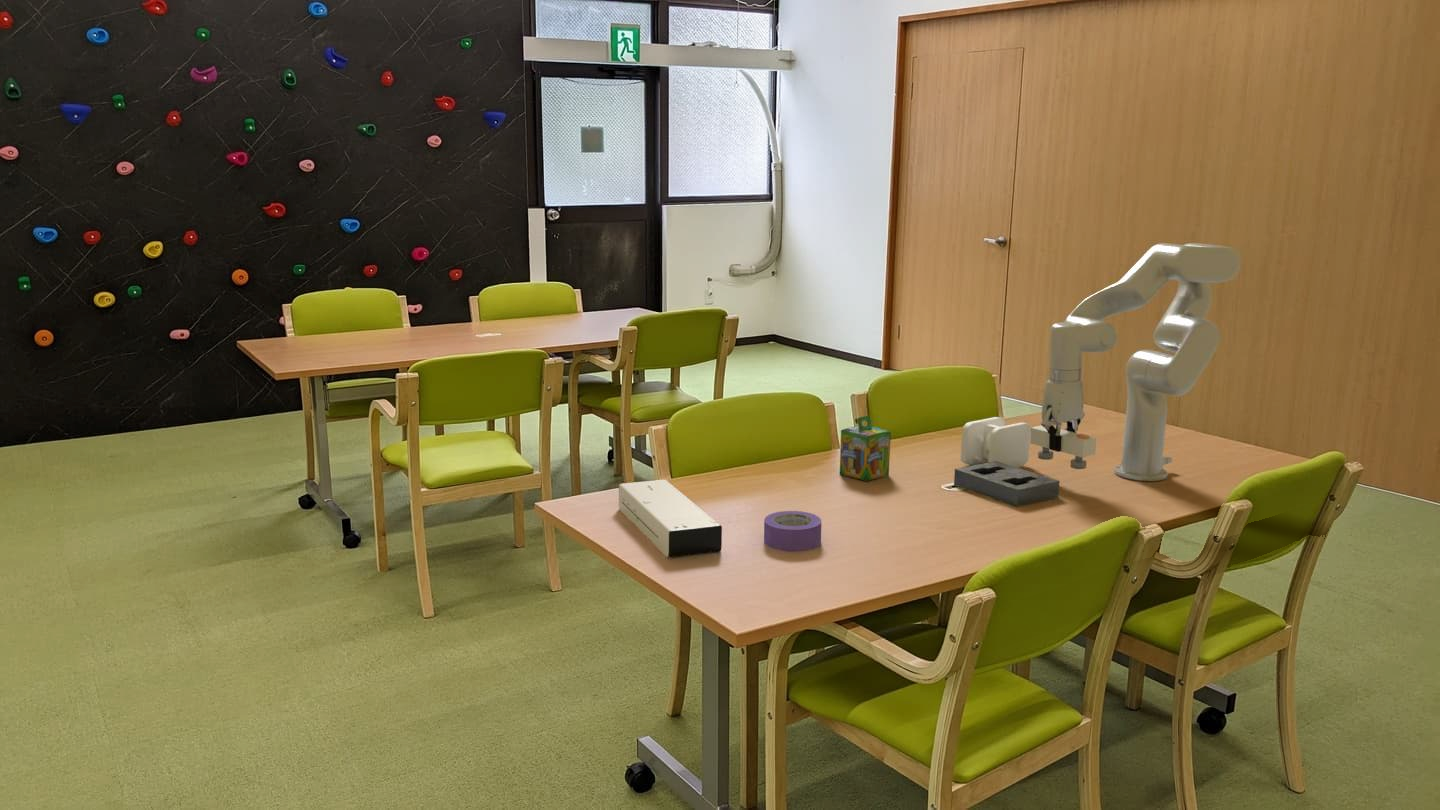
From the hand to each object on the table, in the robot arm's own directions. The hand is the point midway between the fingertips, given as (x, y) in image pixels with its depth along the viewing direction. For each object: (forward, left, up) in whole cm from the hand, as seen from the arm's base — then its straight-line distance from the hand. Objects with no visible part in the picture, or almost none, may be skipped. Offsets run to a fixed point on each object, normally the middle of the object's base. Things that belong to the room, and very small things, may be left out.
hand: (1062, 447), depth 277 cm
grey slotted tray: (+15, -3, -9) cm, 18 cm away
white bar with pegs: (0, 0, -4) cm, 4 cm away
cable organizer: (+1, -20, -10) cm, 22 cm away
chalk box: (+35, -31, -10) cm, 48 cm away
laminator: (+98, -21, -10) cm, 100 cm away
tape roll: (+80, -1, -10) cm, 81 cm away
